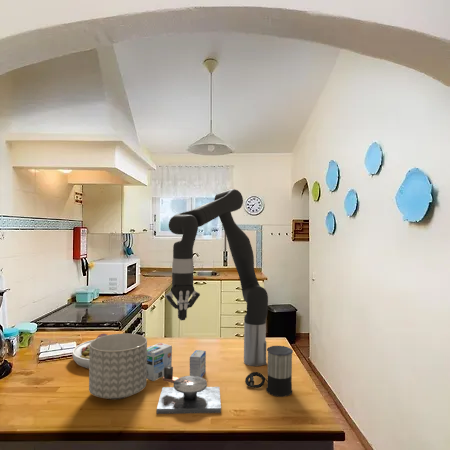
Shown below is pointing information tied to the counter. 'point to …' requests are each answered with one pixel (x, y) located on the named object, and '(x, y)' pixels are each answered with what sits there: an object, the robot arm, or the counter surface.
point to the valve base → (189, 401)
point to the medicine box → (198, 363)
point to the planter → (117, 365)
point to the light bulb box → (158, 360)
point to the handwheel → (184, 382)
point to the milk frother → (276, 372)
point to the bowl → (83, 353)
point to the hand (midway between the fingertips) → (182, 319)
